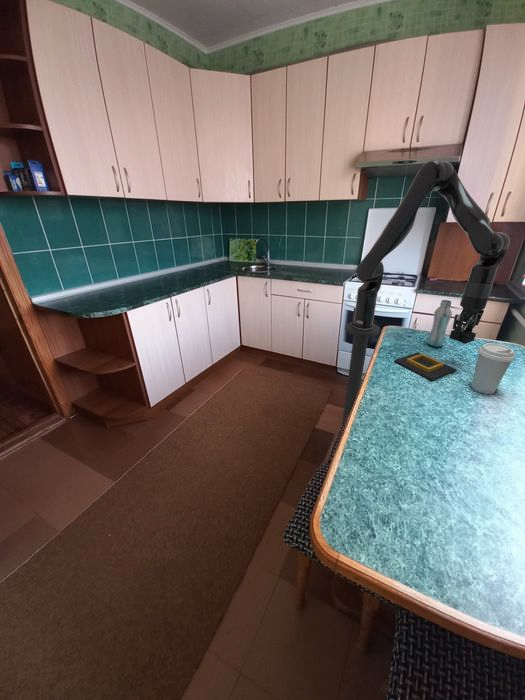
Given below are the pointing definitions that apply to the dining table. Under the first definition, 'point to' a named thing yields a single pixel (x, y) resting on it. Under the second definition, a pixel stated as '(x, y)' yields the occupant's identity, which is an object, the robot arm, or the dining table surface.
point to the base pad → (425, 366)
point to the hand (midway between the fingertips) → (461, 338)
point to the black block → (464, 336)
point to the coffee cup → (491, 367)
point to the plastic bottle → (440, 324)
